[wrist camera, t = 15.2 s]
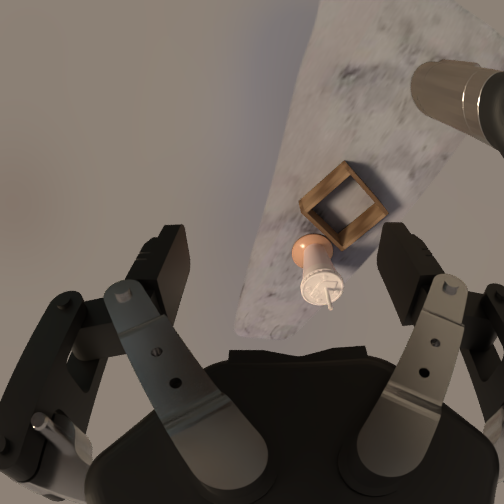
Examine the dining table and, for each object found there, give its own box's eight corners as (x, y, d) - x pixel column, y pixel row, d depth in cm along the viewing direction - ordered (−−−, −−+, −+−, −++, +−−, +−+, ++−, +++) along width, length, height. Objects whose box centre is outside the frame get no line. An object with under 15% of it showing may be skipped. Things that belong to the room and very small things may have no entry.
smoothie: (339, 255, 53) (357, 312, 41) (308, 273, 55) (318, 333, 44) (320, 229, 50) (336, 284, 39) (288, 249, 53) (294, 308, 41)
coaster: (314, 225, 50) (314, 227, 50) (340, 251, 53) (341, 252, 53) (283, 251, 53) (283, 253, 53) (310, 274, 56) (310, 276, 56)
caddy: (344, 160, 44) (350, 168, 41) (380, 202, 47) (388, 213, 44) (298, 201, 48) (301, 212, 45) (337, 238, 52) (342, 251, 48)
